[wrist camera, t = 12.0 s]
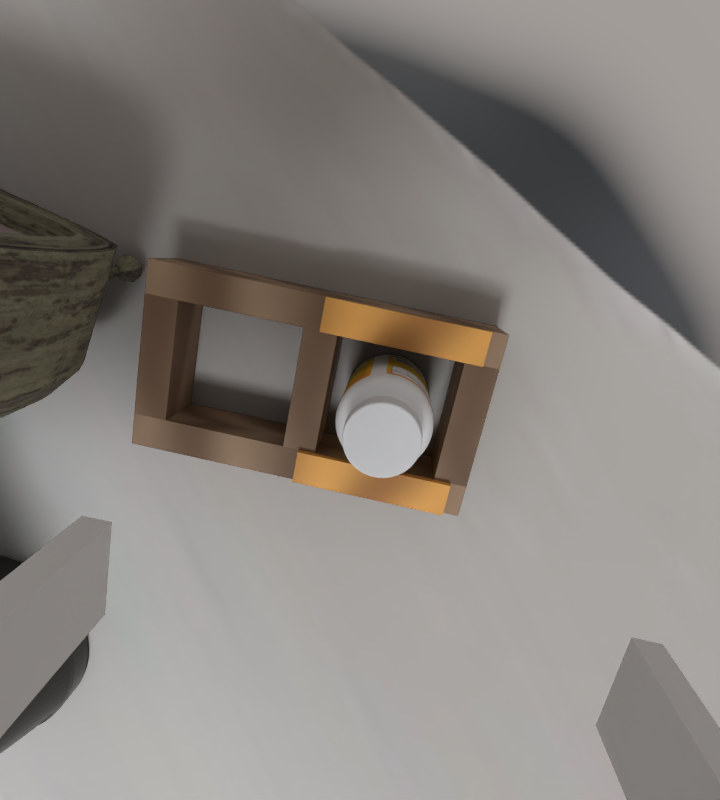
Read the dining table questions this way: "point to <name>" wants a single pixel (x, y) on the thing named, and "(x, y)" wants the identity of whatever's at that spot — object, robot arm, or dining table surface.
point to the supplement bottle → (385, 416)
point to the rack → (307, 382)
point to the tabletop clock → (48, 298)
